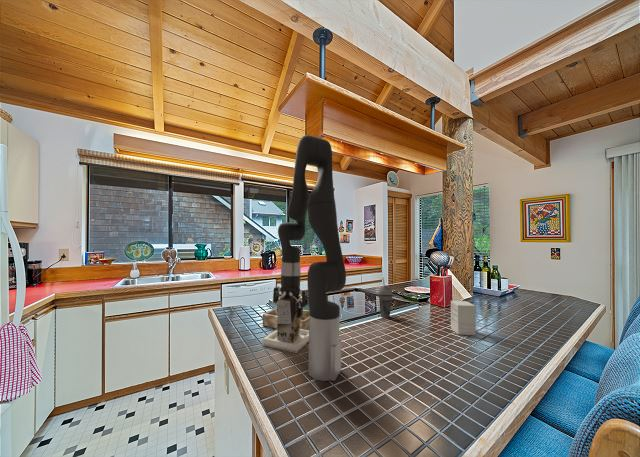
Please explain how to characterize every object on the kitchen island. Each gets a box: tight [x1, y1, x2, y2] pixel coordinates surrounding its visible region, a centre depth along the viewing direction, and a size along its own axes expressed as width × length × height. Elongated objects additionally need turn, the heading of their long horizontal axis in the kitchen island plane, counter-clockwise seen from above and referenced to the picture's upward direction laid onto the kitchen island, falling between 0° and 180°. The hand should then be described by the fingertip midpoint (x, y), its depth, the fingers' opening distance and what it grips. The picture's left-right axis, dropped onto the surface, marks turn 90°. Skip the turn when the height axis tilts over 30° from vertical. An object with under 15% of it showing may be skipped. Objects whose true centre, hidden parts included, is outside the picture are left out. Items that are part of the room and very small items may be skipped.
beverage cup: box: [377, 277, 393, 319], centre depth 124 cm, size 7×7×20 cm
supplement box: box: [450, 300, 477, 336], centre depth 107 cm, size 7×7×13 cm
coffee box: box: [276, 294, 302, 344], centre depth 94 cm, size 9×6×16 cm
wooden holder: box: [262, 308, 309, 330], centre depth 112 cm, size 21×14×5 cm, turn 67°
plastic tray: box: [262, 329, 309, 354], centre depth 93 cm, size 14×14×2 cm
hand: (289, 315), depth 94 cm, fingers open, 8 cm apart
